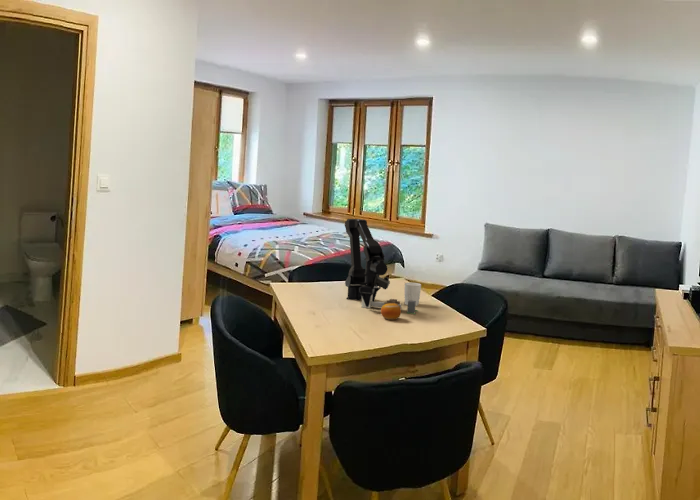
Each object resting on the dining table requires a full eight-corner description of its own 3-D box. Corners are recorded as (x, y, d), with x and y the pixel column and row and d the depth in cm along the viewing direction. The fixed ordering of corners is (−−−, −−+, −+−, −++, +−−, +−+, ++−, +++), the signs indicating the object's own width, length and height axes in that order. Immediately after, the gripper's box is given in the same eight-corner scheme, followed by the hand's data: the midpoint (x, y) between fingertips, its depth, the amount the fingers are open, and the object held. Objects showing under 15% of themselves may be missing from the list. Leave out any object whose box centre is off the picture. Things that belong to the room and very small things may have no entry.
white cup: (419, 306, 292) (420, 286, 291) (402, 305, 294) (403, 284, 292) (420, 303, 300) (421, 283, 299) (404, 302, 301) (405, 281, 300)
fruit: (387, 307, 273) (389, 294, 267) (403, 316, 269) (405, 304, 264) (376, 318, 268) (378, 305, 262) (392, 328, 264) (394, 315, 259)
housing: (383, 310, 281) (384, 301, 280) (387, 307, 287) (387, 298, 287) (415, 314, 277) (415, 304, 276) (418, 311, 283) (418, 301, 283)
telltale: (407, 312, 280) (407, 301, 279) (408, 311, 283) (409, 300, 282) (413, 313, 279) (414, 302, 278) (415, 311, 282) (415, 301, 281)
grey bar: (361, 307, 285) (362, 294, 285) (363, 305, 289) (364, 292, 288) (399, 311, 280) (400, 298, 280) (401, 309, 284) (402, 297, 283)
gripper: (384, 276, 273) (382, 310, 275) (393, 270, 291) (391, 302, 293) (359, 273, 276) (357, 308, 278) (370, 267, 294) (368, 300, 296)
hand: (369, 304), depth 286 cm, fingers open, 9 cm apart
